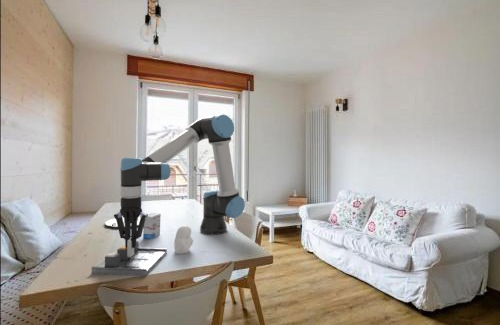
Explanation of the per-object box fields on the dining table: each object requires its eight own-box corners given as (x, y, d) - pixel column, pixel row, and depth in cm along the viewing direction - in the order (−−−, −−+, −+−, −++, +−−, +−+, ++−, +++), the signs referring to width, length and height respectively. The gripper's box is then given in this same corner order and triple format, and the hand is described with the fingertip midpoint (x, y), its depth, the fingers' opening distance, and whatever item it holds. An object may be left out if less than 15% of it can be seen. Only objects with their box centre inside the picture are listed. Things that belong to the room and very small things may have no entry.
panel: (166, 253, 116) (166, 248, 116) (145, 275, 95) (145, 269, 95) (122, 252, 117) (122, 247, 117) (91, 273, 96) (91, 267, 96)
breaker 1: (119, 264, 100) (119, 252, 100) (115, 268, 97) (115, 255, 97) (109, 264, 100) (109, 252, 100) (104, 267, 97) (104, 255, 97)
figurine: (182, 255, 114) (183, 228, 114) (170, 252, 118) (170, 225, 118) (194, 250, 120) (194, 224, 120) (182, 247, 124) (182, 222, 124)
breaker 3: (138, 250, 115) (138, 239, 115) (135, 252, 112) (135, 242, 112) (129, 249, 115) (129, 239, 115) (125, 252, 112) (125, 241, 112)
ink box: (151, 239, 134) (151, 216, 134) (142, 238, 135) (142, 215, 135) (160, 234, 143) (160, 213, 142) (152, 234, 144) (152, 212, 143)
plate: (154, 225, 161) (154, 222, 161) (108, 232, 146) (108, 228, 146) (144, 217, 181) (144, 214, 181) (102, 222, 167) (102, 219, 167)
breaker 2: (130, 257, 107) (130, 245, 107) (127, 259, 104) (127, 248, 104) (121, 256, 107) (121, 245, 107) (117, 259, 104) (117, 248, 104)
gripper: (151, 195, 108) (150, 252, 109) (120, 194, 109) (119, 251, 110) (143, 198, 101) (142, 259, 102) (109, 197, 101) (109, 258, 102)
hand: (130, 255), depth 106 cm, fingers closed
